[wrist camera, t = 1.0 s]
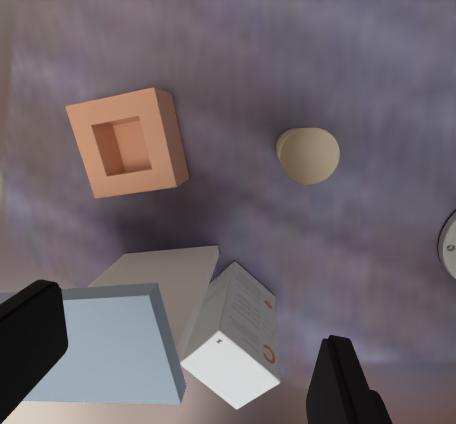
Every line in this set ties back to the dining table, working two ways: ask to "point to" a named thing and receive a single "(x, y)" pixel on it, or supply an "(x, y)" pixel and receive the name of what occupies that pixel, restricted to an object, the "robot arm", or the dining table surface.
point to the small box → (235, 338)
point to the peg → (307, 154)
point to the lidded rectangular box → (130, 329)
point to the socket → (130, 142)
